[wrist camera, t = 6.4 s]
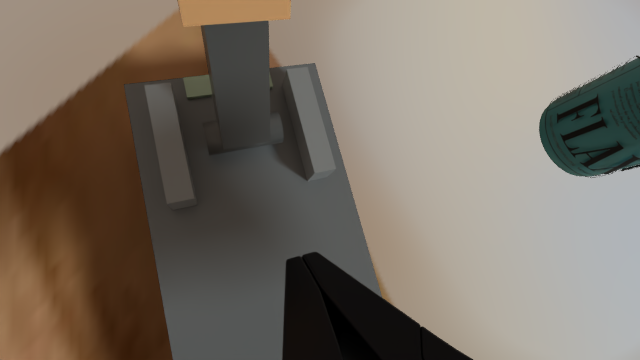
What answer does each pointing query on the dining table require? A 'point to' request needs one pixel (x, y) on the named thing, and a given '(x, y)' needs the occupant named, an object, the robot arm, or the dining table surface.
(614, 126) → the beverage bottle
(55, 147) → the dining table surface
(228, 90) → the lever
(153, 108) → the base
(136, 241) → the dining table surface
